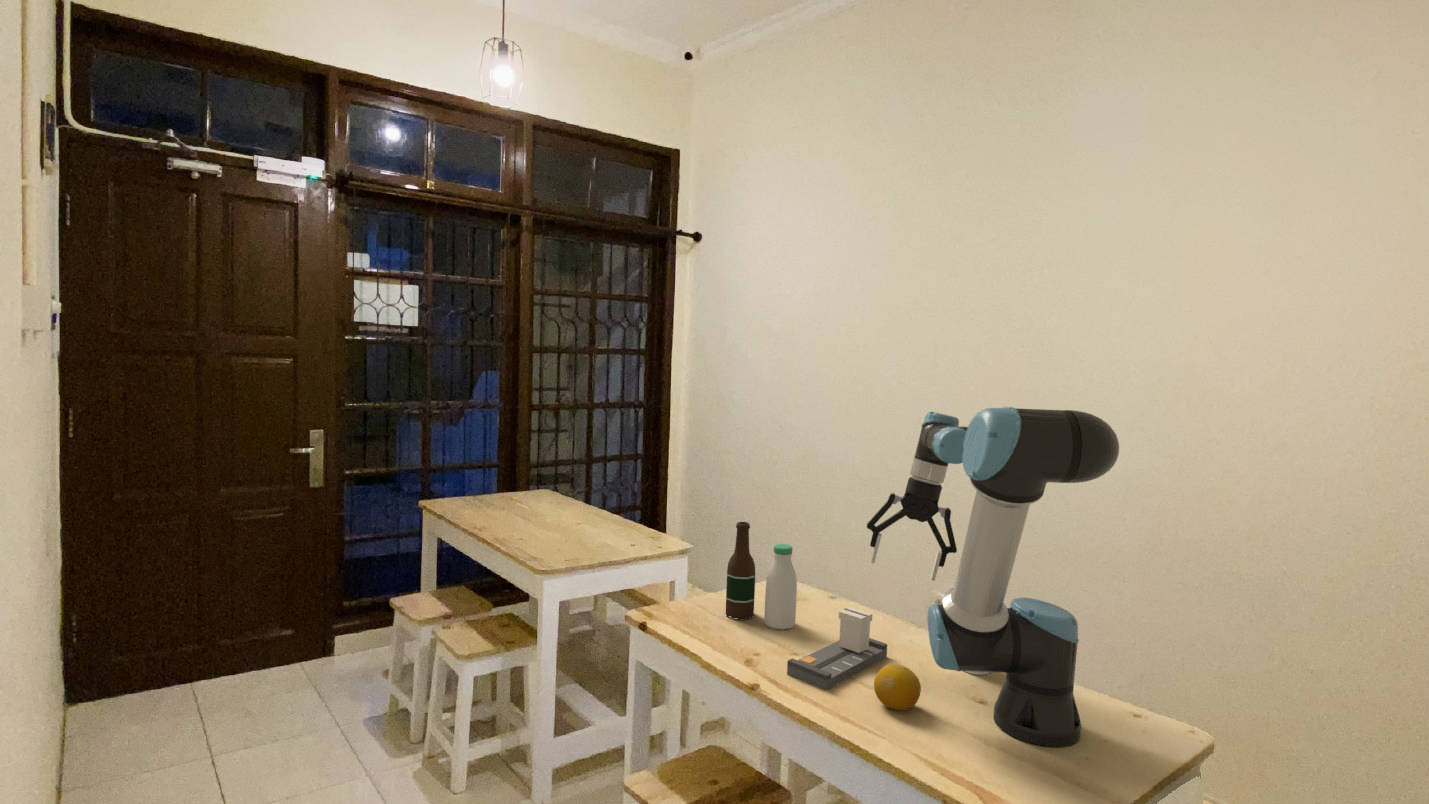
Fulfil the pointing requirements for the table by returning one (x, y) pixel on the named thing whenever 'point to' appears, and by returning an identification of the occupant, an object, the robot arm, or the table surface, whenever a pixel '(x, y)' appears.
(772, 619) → the milk bottle
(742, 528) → the beer bottle
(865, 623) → the fader knob
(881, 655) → the slider console
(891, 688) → the fruit
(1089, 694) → the table surface
